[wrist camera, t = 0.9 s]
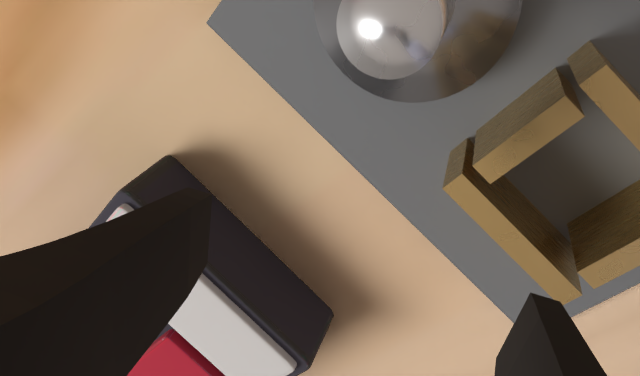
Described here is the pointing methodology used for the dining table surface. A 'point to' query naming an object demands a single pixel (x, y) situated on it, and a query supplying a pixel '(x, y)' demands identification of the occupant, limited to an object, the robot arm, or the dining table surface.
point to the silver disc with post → (415, 43)
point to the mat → (460, 127)
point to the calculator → (228, 297)
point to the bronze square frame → (519, 213)
